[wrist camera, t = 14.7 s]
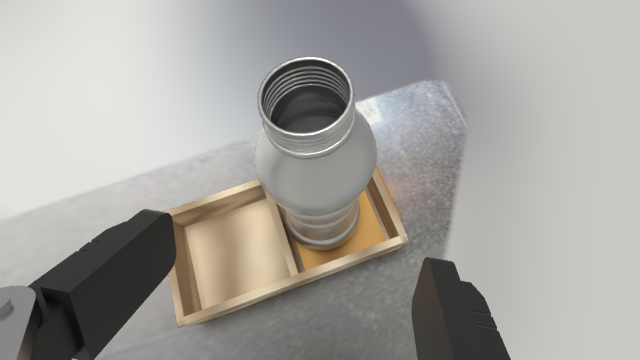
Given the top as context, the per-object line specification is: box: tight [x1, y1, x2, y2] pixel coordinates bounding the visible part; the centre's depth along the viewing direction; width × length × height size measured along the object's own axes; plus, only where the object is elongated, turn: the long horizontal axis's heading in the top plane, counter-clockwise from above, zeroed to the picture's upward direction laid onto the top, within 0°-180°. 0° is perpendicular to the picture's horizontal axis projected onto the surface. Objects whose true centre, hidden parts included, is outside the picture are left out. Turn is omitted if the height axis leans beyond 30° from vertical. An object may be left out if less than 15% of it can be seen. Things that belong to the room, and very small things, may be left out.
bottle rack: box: [164, 165, 409, 327], centre depth 29 cm, size 20×10×5 cm, turn 110°
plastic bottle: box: [255, 56, 377, 250], centre depth 21 cm, size 6×7×20 cm
